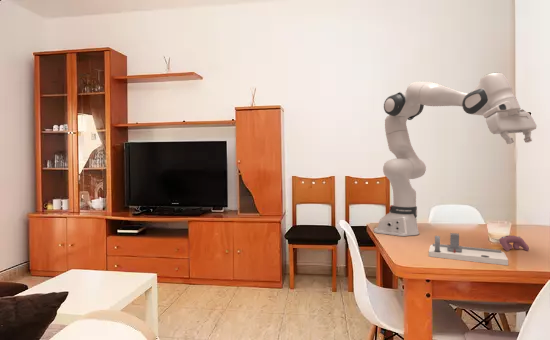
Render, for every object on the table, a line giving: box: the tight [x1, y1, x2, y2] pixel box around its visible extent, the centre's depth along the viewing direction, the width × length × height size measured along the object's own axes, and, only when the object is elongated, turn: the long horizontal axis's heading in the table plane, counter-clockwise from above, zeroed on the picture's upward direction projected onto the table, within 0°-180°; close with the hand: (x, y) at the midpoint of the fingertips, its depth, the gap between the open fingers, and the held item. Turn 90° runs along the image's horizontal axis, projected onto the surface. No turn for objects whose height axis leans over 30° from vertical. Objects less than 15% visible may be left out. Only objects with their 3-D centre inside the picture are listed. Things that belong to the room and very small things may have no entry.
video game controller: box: [498, 235, 530, 252], centre depth 143 cm, size 10×5×7 cm, turn 92°
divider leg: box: [447, 232, 463, 252], centre depth 134 cm, size 5×7×6 cm
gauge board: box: [428, 235, 509, 266], centre depth 133 cm, size 26×12×8 cm, turn 62°
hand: (519, 142), depth 127 cm, fingers open, 8 cm apart
